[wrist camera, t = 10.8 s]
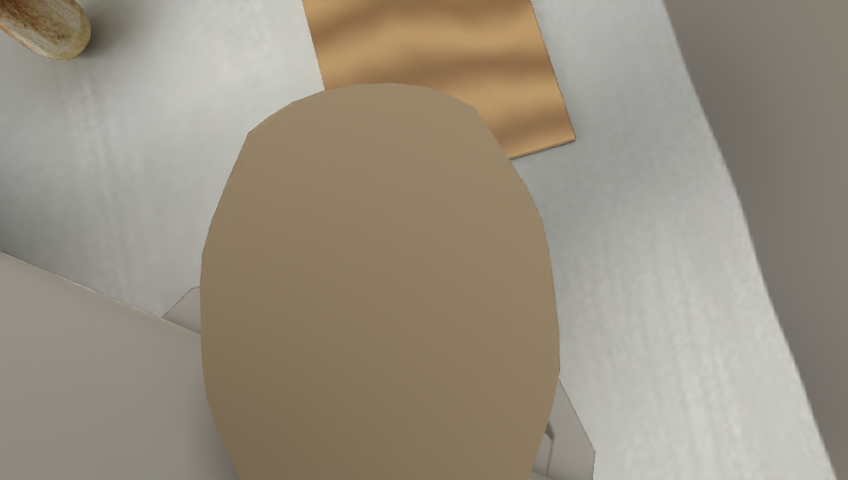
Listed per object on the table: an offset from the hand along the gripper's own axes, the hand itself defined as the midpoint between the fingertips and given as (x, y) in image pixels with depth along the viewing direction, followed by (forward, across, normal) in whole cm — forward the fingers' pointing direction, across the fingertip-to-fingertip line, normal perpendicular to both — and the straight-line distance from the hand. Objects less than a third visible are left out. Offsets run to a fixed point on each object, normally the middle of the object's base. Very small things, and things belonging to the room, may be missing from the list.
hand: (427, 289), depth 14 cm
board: (+26, +9, +3) cm, 28 cm away
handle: (+6, 0, +6) cm, 9 cm away
